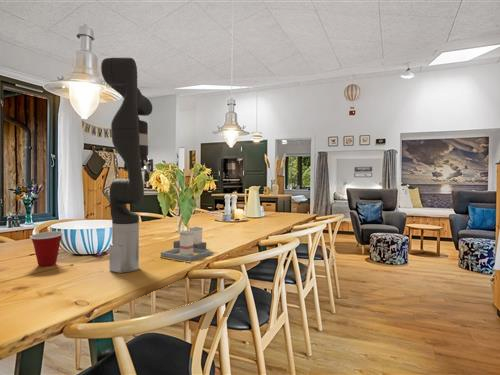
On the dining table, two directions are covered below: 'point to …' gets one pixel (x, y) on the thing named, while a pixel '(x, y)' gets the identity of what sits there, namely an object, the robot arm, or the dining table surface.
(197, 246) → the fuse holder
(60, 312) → the dining table surface
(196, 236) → the block
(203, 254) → the tray
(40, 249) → the plastic cup
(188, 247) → the block
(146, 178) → the robot arm
